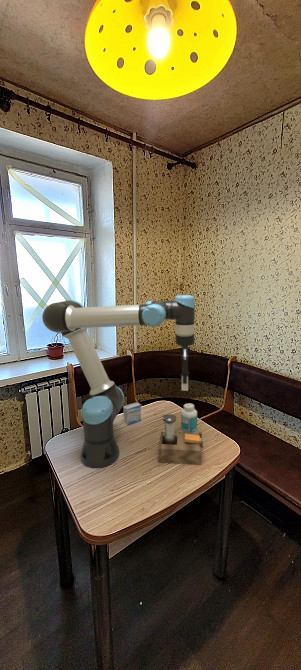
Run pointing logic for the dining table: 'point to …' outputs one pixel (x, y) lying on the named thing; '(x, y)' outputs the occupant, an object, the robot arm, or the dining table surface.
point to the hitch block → (180, 450)
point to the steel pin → (169, 428)
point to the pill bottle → (189, 419)
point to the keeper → (192, 438)
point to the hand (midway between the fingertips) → (184, 389)
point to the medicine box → (132, 413)
